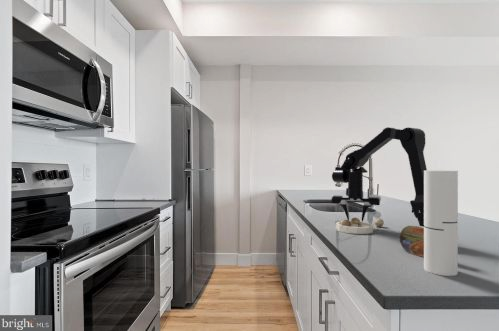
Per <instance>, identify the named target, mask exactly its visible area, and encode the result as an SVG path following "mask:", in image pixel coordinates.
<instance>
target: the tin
mask: <svg viewBox="0 0 499 331" xmlns="http://www.w3.org/2000/svg"><path fill="white" fill-rule="evenodd" d="M399 243H400V245H401V247H402V249H403V250H404V251H405V252H406V253H408V254H410V255H413V256H417V257H419V258H420V257H421V258H423V259H424V227H423V226H418V225H407V226H405V227H404V228H402V230H401V232H400V234H399Z"/></svg>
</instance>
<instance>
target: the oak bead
mask: <svg viewBox="0 0 499 331" xmlns="http://www.w3.org/2000/svg"><path fill="white" fill-rule="evenodd" d="M350 221H351V224H352V223H355V224H358V225H359V224H360V222H361V220H360V219H359V218H358V217H352V218H351V220H350Z"/></svg>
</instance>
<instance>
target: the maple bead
mask: <svg viewBox="0 0 499 331" xmlns="http://www.w3.org/2000/svg"><path fill="white" fill-rule="evenodd" d="M374 225H375V226H376V227H379V228H380V227H383V226H384V225H385V224H384V219H382V218H380V217H379V218H376V219H375V220H374Z"/></svg>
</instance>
